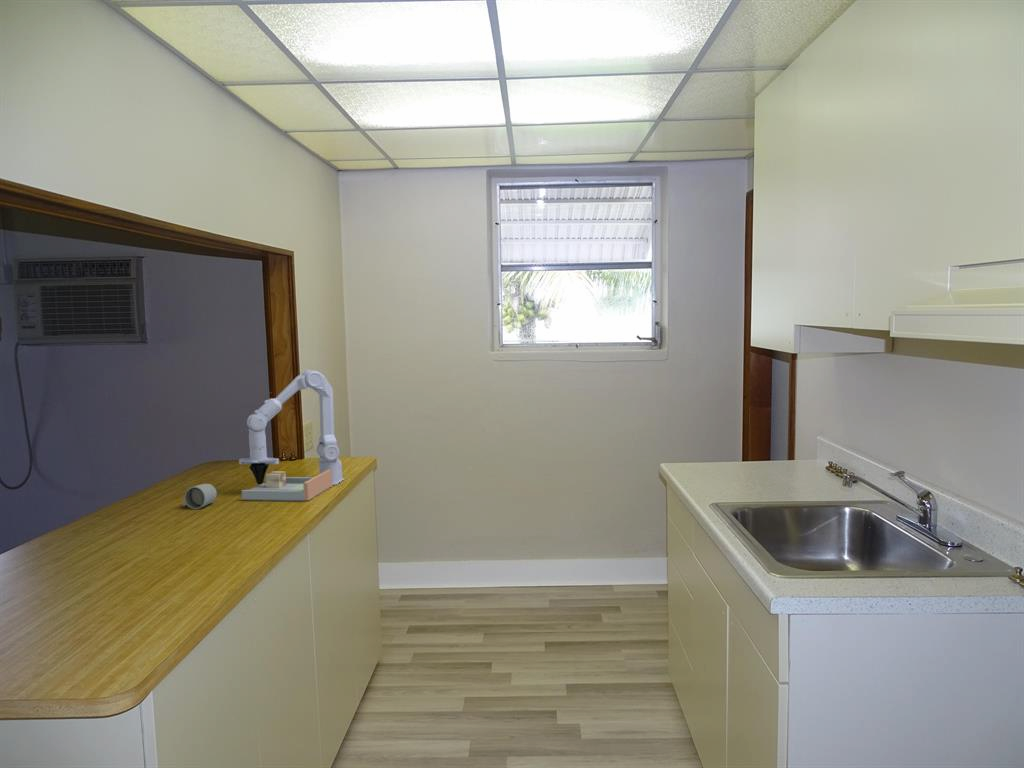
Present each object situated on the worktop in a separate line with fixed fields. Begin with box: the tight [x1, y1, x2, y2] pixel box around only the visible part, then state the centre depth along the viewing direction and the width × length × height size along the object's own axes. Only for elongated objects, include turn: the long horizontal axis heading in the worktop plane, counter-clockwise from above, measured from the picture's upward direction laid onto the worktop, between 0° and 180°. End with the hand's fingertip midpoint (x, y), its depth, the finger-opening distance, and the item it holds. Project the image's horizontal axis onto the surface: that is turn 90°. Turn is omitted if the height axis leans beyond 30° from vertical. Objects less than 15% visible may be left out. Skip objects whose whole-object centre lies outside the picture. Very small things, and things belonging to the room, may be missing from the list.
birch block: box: [265, 470, 287, 488], centre depth 247 cm, size 5×5×5 cm
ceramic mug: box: [181, 483, 218, 510], centre depth 233 cm, size 11×8×8 cm
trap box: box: [241, 470, 334, 502], centre depth 247 cm, size 21×24×6 cm
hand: (260, 483), depth 248 cm, fingers closed
